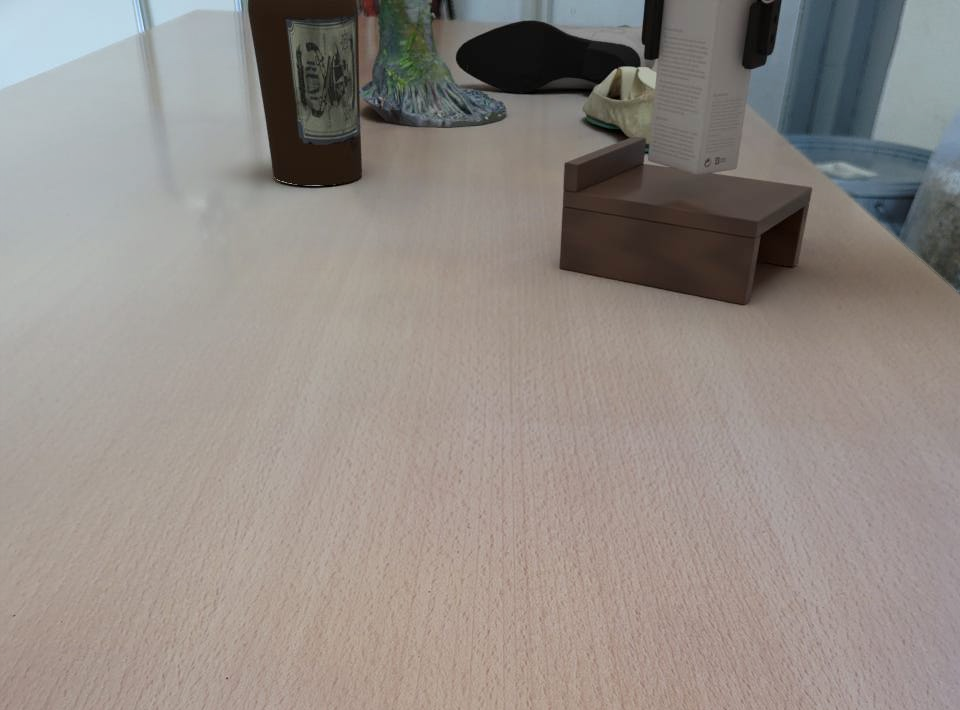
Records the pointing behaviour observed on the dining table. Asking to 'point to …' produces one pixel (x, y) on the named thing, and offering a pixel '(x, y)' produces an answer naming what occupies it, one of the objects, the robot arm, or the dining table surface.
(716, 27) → the cosmetic box
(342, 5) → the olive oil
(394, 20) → the tree stump
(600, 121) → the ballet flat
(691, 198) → the shelf
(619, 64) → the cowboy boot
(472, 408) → the dining table surface
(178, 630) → the dining table surface
